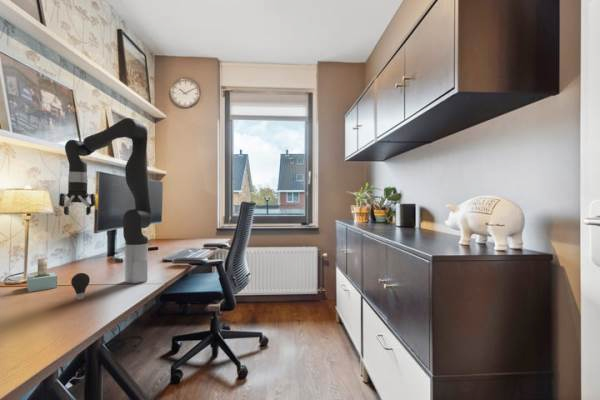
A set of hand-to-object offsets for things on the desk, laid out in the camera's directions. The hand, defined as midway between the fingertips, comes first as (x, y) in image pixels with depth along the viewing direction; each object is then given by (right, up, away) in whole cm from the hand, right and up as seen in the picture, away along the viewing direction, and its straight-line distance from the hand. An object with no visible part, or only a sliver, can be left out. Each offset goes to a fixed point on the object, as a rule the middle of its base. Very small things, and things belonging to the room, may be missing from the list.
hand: (77, 215), depth 147 cm
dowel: (-1, -30, -19) cm, 35 cm away
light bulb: (+27, -30, -35) cm, 53 cm away
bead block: (-1, -30, -19) cm, 35 cm away
